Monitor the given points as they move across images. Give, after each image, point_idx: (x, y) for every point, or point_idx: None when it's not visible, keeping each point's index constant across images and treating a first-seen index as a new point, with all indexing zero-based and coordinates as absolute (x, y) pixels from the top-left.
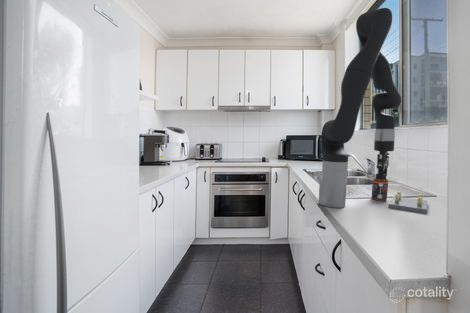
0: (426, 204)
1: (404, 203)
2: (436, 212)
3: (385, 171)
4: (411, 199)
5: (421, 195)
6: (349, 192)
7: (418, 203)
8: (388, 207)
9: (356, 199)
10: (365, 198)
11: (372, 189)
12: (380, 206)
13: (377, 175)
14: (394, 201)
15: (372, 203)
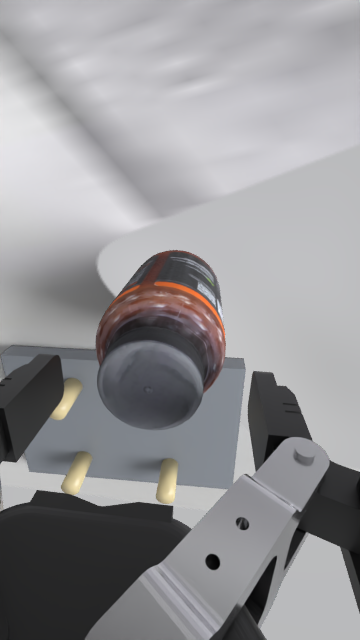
0: (132, 479)
1: (75, 412)
2: (91, 484)
3: (255, 441)
4: (209, 439)
5: (157, 497)
6: (327, 31)
7: (73, 462)
8: (11, 346)
9: (71, 164)
10: (153, 212)
11: (144, 268)
12: (6, 313)
13: (107, 353)
14: (84, 375)
15: (40, 271)
